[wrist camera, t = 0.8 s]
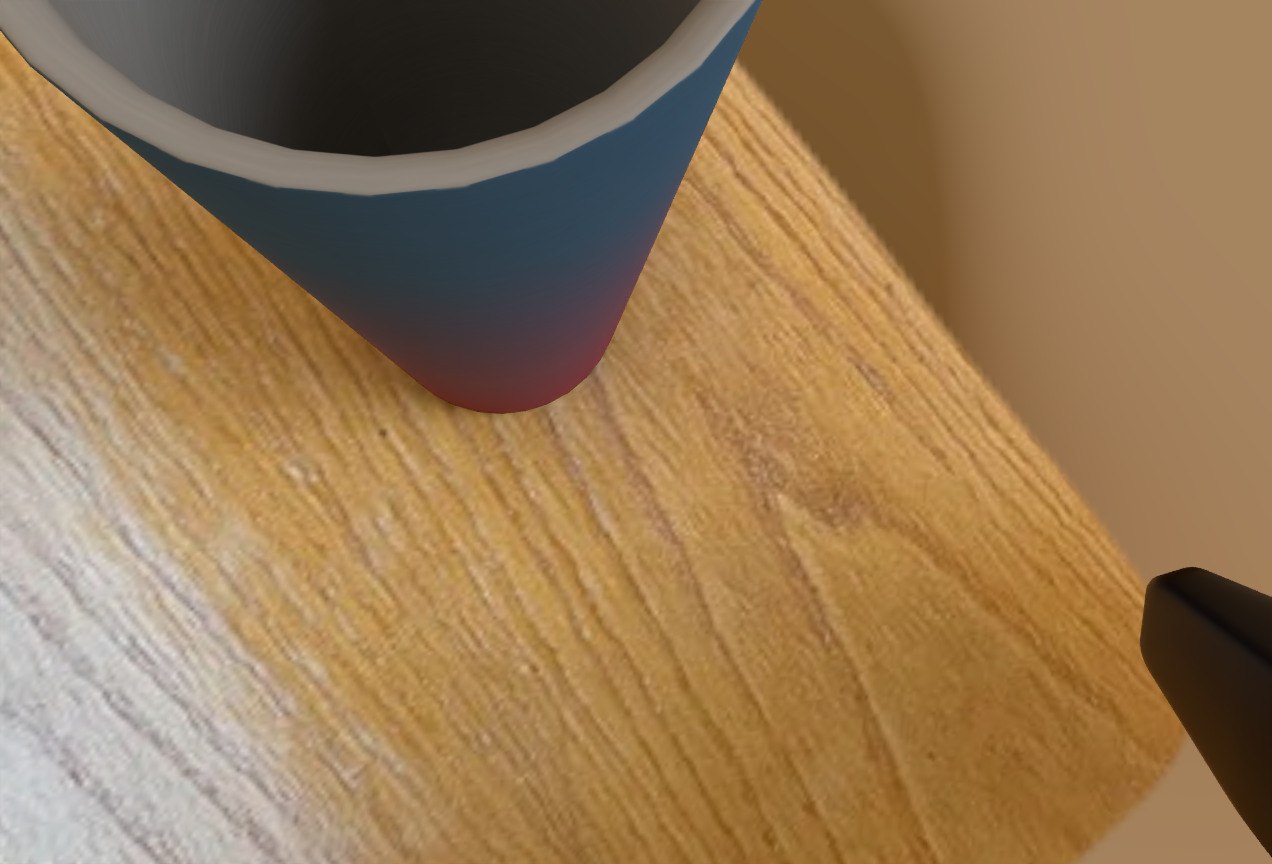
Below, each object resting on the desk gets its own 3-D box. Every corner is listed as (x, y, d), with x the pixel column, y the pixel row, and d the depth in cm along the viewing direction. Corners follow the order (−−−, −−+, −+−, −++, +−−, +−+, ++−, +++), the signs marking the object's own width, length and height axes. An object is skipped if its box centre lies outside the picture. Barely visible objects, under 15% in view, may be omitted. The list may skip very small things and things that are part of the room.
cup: (725, 295, 23) (996, -224, 8) (503, 524, 22) (369, 391, 7) (498, 84, 24) (378, -765, 9) (270, 300, 23) (-298, -250, 8)
